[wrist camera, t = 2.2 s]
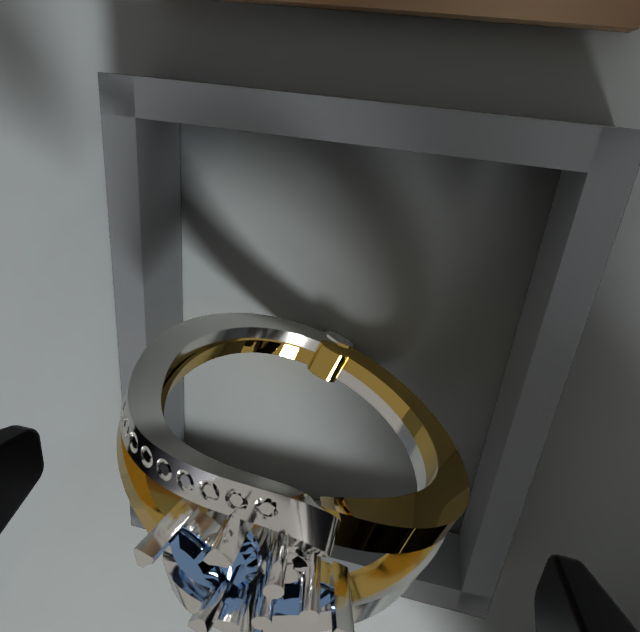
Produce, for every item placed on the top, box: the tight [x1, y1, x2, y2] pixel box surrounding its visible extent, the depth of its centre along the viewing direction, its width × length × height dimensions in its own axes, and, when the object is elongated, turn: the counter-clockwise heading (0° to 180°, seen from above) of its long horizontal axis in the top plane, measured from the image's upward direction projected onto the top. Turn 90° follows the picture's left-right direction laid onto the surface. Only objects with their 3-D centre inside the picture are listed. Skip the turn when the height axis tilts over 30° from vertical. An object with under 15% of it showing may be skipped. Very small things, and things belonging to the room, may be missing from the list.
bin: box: [98, 72, 640, 619], centre depth 13 cm, size 11×13×2 cm
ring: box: [117, 313, 469, 632], centre depth 10 cm, size 7×3×8 cm, turn 65°
